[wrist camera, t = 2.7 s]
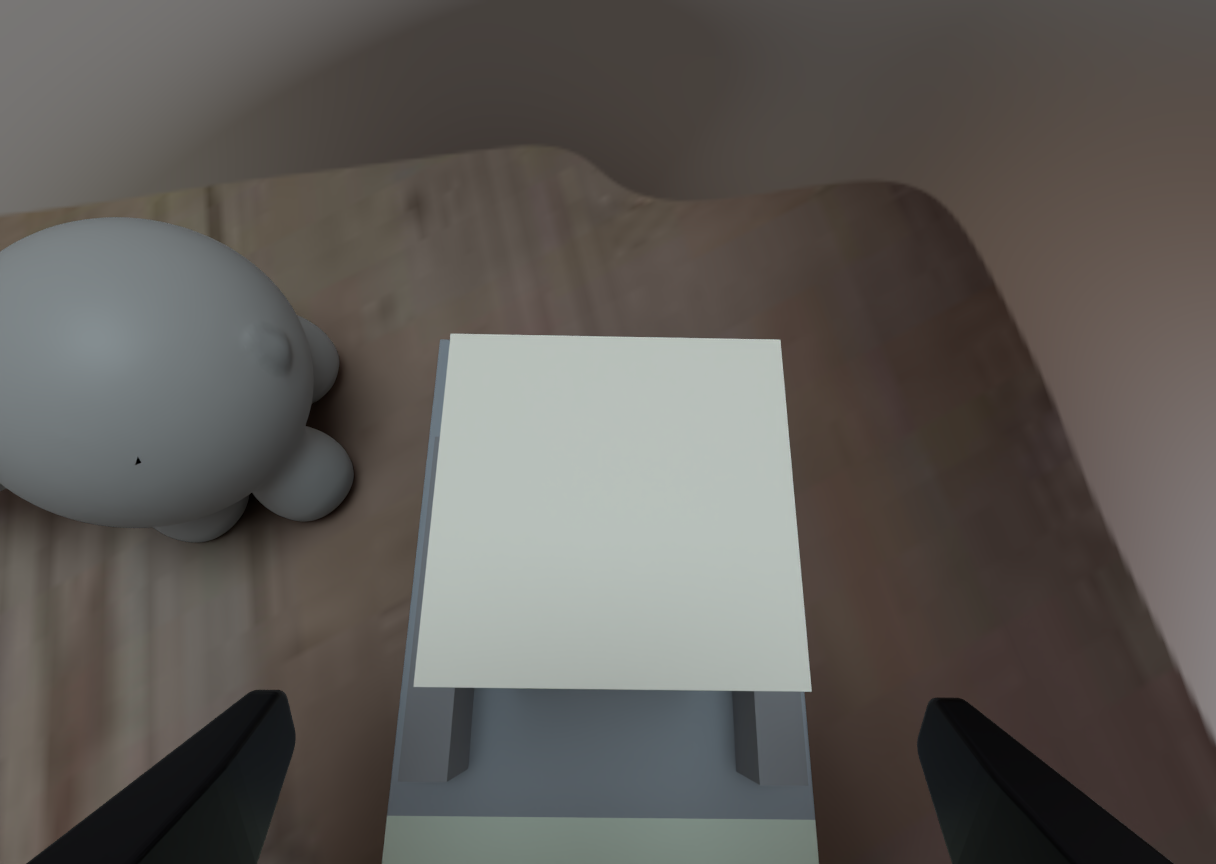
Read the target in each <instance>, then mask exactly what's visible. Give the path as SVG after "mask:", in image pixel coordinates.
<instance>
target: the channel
mask: <svg viewBox="0 0 1216 864" xmlns="http://www.w3.org/2000/svg"><path fill="white" fill-rule="evenodd" d="M449 345H450V340H440V347H439V356H438V365H437V374H436V383H435V392H434V400H433V409H432V418H431V427H430V436H429V445H428V454H427V463H426V472H425V481H424V490H423V499H422V508H421V517H420V526H419V535H418V544H417V553H416V562H415V571H414V580H413V589H412V598H411V606H410V615H409V624H408V633H407V642H406V651H405V660H404V669H403V678H402V687H401V696H400V705H399V714H398V723H397V732H396V741H395V750H394V759H393V768H392V777H391V786H390V795H389V803H388V812H387V821H386V830H385V839H384V848H383V857H382V864H819V858H818V847H817V835H816V823H815V812H814V800H813V788H812V777H811V765H810V753H809V742H808V730H807V718H806V707H805V695H804V692H796V691H688V690H604V689H519V688H451V687H413V686H414V676H415V667H416V657H417V648H418V638H419V629H420V619H421V610H422V601H423V591H424V582H425V572H426V563H427V553H428V544H429V534H430V525H431V516H432V506H433V497H434V487H435V478H436V468H437V459H438V449H439V440H440V431H441V421H442V412H443V402H444V393H445V383H446V374H447V364H448V355H449Z"/></svg>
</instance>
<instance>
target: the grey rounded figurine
mask: <svg viewBox="0 0 1216 864" xmlns="http://www.w3.org/2000/svg"><path fill="white" fill-rule="evenodd" d="M338 369H339V356H338V353H337V350H336V348H335V346H334V344H333V343H332V341H331V340H330V339H329V337H328V336H327V335H326V334H325V333H324V332H323V331H322V330H321V329H320V328H318V327H317V326H316V325H314V324H313V323H311V322H310V321H308V320H306V319H304V318H302V317H300V316H298V315H296V313H295V311H294V309H293V308H292V306H291V305H290V303H289V302H288V300H287V299H286V297H285V296H284V295H283V293H282V292H281V291H280V290H279V288H278V287H277V286H276V285H275V284H274V283H273V282H272V281H271V280H270V278H269V277H267V276H266V275H265V274H264V273H263V272H262V271H261V270H260V269H259V268H258V267H256V266H255V265H254V264H253V263H251V262H250V261H249V260H248V259H246V258H245V257H243V256H242V255H240V254H239V253H238V252H236V251H234V250H233V249H231V248H229V247H228V246H226V245H224V244H222V243H220V242H218V241H216V240H214V239H212V238H210V237H208V236H205V235H203V234H200V233H198V232H195V231H193V230H190V229H187V228H184V227H180V226H176V225H172V224H168V223H164V222H159V221H153V220H146V219H137V218H119V217H110V218H95V219H86V220H80V221H74V222H69V223H64V224H61V225H57V226H54V227H50V228H47V229H44V230H42V231H39V232H36V233H34V234H32V235H30V236H27V237H25V238H23V239H21V240H19V241H17V242H15V243H14V244H12V245H10V246H8V247H7V248H5V249H4V250H2V251H1V252H0V491H2V490H4V489H6V488H7V489H8V490H10V491H11V492H13V493H14V494H16V495H18V496H19V497H21V498H23V499H24V500H26V501H28V502H30V503H32V504H34V505H36V506H38V507H40V508H42V509H44V510H47V511H49V512H52V513H54V514H57V515H60V516H63V517H66V518H69V519H73V520H76V521H80V522H84V523H89V524H95V525H101V526H108V527H120V528H150V527H153V528H154V529H156V530H157V531H159V532H161V533H162V534H164V535H166V536H168V537H171V538H173V539H177V540H180V541H185V542H206V541H209V540H212V539H215V538H217V537H219V536H221V535H222V534H224V533H225V532H227V531H228V530H229V529H230V528H231V527H232V526H233V525H234V524H235V523H236V522H237V521H238V520H239V518H240V517H241V516H242V514H243V512H244V511H245V509H246V506H247V503H248V500H249V494H251V493H253V495H254V496H255V497H256V498H257V499H258V501H259V502H260V503H262V504H263V505H264V506H265V507H266V508H268V509H269V510H270V511H272V512H274V513H275V514H277V515H279V516H282V517H284V518H287V519H290V520H295V521H313V520H317V519H319V518H322V517H324V516H326V515H327V514H329V513H330V512H332V511H333V510H334V509H335V508H336V507H338V506H339V505H340V503H341V502H342V501H343V500H344V499H345V497H346V496H347V494H348V492H349V490H350V488H351V486H352V483H353V478H354V471H353V465H352V462H351V460H350V458H349V456H348V454H347V452H346V451H345V450H344V448H343V447H342V446H341V445H340V444H339V443H338V442H337V441H336V440H334V439H333V438H332V437H330V436H328V435H327V434H325V433H323V432H321V431H319V430H317V429H314V428H311V427H308V426H305V425H306V422H307V419H308V416H309V413H310V409H311V404H312V403H314V402H316V401H318V400H320V399H321V398H322V397H323V396H324V395H325V394H326V393H327V392H328V391H329V390H330V389H331V387H332V386H333V384H334V382H335V380H336V377H337V374H338Z"/></svg>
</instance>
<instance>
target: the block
mask: <svg viewBox="0 0 1216 864" xmlns="http://www.w3.org/2000/svg"><path fill="white" fill-rule="evenodd" d="M413 687H451V688H519V689H604V690H688V691H796V692H812V689H811V678H810V667H809V656H808V645H807V633H806V622H805V611H804V600H803V589H802V578H801V566H800V555H799V544H798V533H797V522H796V510H795V499H794V488H793V477H792V466H791V455H790V443H789V432H788V421H787V410H786V399H785V387H784V376H783V365H782V354H781V343H780V340H766V339H711V338H656V337H601V336H546V335H491V334H451V336H450V345H449V355H448V364H447V374H446V383H445V393H444V402H443V412H442V421H441V431H440V440H439V449H438V459H437V468H436V478H435V487H434V497H433V506H432V516H431V525H430V534H429V544H428V553H427V563H426V572H425V582H424V591H423V601H422V610H421V619H420V629H419V638H418V648H417V657H416V667H415V676H414V686H413Z"/></svg>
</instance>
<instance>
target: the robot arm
mask: <svg viewBox="0 0 1216 864" xmlns="http://www.w3.org/2000/svg"><path fill="white" fill-rule="evenodd" d="M294 746H295V728H294V724H293V720H292V716H291V712H290V707H289V703H288V699H287V696H286V694H285V693H284V692H283V691H280V690H254V691H252V692H250V693H248V694H246V695H245V696H244V697H243V698H241V699H240V700H239V701H237V702H236V703H235V704H233V705H232V706H231V707H230V708H228V709H227V710H226V711H224V712H223V713H222V714H220V715H219V716H218V717H217V718H215V719H214V720H213V721H211V722H210V723H209V724H207V725H206V726H205V727H204V728H202V729H201V730H200V731H198V732H197V733H196V734H194V735H193V736H192V737H191V738H189V739H188V740H187V741H185V742H184V743H183V744H181V745H180V746H179V747H178V748H176V749H175V750H174V751H172V752H171V753H170V754H168V755H167V756H166V757H165V758H163V759H162V760H161V761H159V762H158V763H157V764H155V765H154V766H153V767H152V768H150V769H149V770H148V771H146V772H145V773H144V774H142V775H141V776H140V777H139V778H137V779H136V780H135V781H133V782H132V783H131V784H129V785H128V786H127V787H126V788H124V789H123V790H122V791H120V792H119V793H118V794H116V795H115V796H114V797H112V798H111V799H110V800H109V801H107V802H106V803H105V804H103V805H102V806H101V807H99V808H98V809H97V810H96V811H94V812H93V813H92V814H90V815H89V816H88V817H86V818H85V819H84V820H83V821H81V822H80V823H79V824H77V825H76V826H75V827H73V828H72V829H71V830H70V831H68V832H67V833H66V834H64V835H63V836H62V837H60V838H59V839H58V840H57V841H55V842H54V843H53V844H51V845H50V846H49V847H47V848H46V849H45V850H44V851H42V852H41V853H40V854H38V855H37V856H36V857H34V858H33V859H32V860H31V861H29V862H28V863H27V864H257V861H258V859H259V856H260V853H261V850H262V847H263V844H264V841H265V838H266V835H267V832H268V829H269V825H270V822H271V819H272V816H273V813H274V810H275V807H276V804H277V801H278V797H279V794H280V791H281V788H282V785H283V782H284V779H285V776H286V773H287V769H288V766H289V763H290V760H291V757H292V754H293V751H294ZM917 747H918V755H919V759H920V762H921V765H922V768H923V772H924V775H925V778H926V781H927V785H928V788H929V791H930V794H931V797H932V801H933V804H934V807H935V810H936V814H937V817H938V820H939V823H940V826H941V830H942V833H943V836H944V839H945V843H946V846H947V849H948V852H949V855H950V858H951V861H952V864H1174V863H1172V862H1171V861H1170V860H1169V859H1167V858H1166V857H1165V856H1163V855H1162V854H1161V853H1160V852H1158V851H1157V850H1156V849H1154V848H1153V847H1152V846H1151V845H1149V844H1148V843H1147V842H1146V841H1144V840H1143V839H1142V838H1140V837H1139V836H1138V835H1137V834H1135V833H1134V832H1133V831H1131V830H1130V829H1129V828H1128V827H1126V826H1125V825H1124V824H1123V823H1121V822H1120V821H1119V820H1117V819H1116V818H1115V817H1114V816H1112V815H1111V814H1110V813H1108V812H1107V811H1106V810H1105V809H1103V808H1102V807H1101V806H1100V805H1098V804H1097V803H1096V802H1094V801H1093V800H1092V799H1091V798H1089V797H1088V796H1087V795H1085V794H1084V793H1083V792H1082V791H1080V790H1079V789H1078V788H1076V787H1075V786H1074V785H1073V784H1071V783H1070V782H1069V781H1068V780H1066V779H1065V778H1064V777H1062V776H1061V775H1060V774H1059V773H1057V772H1056V771H1055V770H1053V769H1052V768H1051V767H1050V766H1048V765H1047V764H1046V763H1045V762H1043V761H1042V760H1041V759H1039V758H1038V757H1037V756H1036V755H1034V754H1033V753H1032V752H1030V751H1029V750H1028V749H1027V748H1025V747H1024V746H1023V745H1022V744H1020V743H1019V742H1018V741H1016V740H1015V739H1014V738H1013V737H1011V736H1010V735H1009V734H1007V733H1006V732H1005V731H1004V730H1002V729H1001V728H1000V727H999V726H997V725H996V724H995V723H993V722H992V721H991V720H990V719H988V718H987V717H986V716H984V715H983V714H982V713H981V712H979V711H978V710H977V709H976V708H974V707H973V706H972V705H970V704H969V703H968V702H966V701H965V700H963V699H960V698H933V699H931V700H930V701H929V703H928V705H927V709H926V712H925V715H924V719H923V722H922V726H921V729H920V732H919V736H918V742H917Z"/></svg>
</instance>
